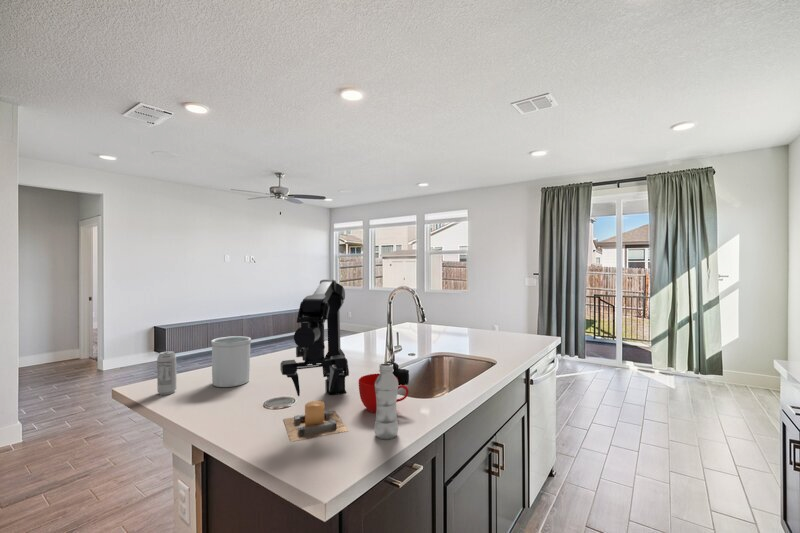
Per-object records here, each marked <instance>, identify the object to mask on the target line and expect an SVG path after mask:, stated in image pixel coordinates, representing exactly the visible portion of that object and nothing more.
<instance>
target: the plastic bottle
mask: <svg viewBox="0 0 800 533" xmlns="http://www.w3.org/2000/svg"><path fill="white" fill-rule="evenodd" d="M378 371H379V372H378V373H379V374H380V375H379V376H378V377H377V379H376V381H375V392H376V403H377V410H376V413H375V422H374V425H373V430H374V434H375V436H376V437H377V438H378V439H380V438H381V439H380V440H391V439H390V438H392V439H394V438H395V437H397V435H398V433H399V420H398V417H397V416H398V415H397V402H396V401H397V399H398V398H397V397H398V391H399V389H398V386H399V385H398V380H397V379H396V377H395V376H394V374H393V373H392V372H393V371H394V370H393V364H391V363H386V362H384V363H380V364H379V370H378ZM393 437H394V438H393Z"/></svg>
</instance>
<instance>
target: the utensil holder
mask: <svg viewBox="0 0 800 533" xmlns="http://www.w3.org/2000/svg"><path fill="white" fill-rule="evenodd" d="M251 342H252V338H251V337H249V336H243V335H242V336H239V335H238V336H237V335H234V336H225V337H224V336H223V337H217V338H214V339H212V340H211V341H210V343H211V377H212V379H211V380H212V382H211V383H212V385H213V386H214V387H216V388H217V387H218V388H231V387H232V388H233V387H239V386H241V385H244V384H246V383H248V382H249V381H250V370H251V369H250V368H251Z"/></svg>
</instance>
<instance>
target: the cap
mask: <svg viewBox="0 0 800 533" xmlns="http://www.w3.org/2000/svg"><path fill="white" fill-rule="evenodd" d="M324 411H325V402H324V401H322V400H321V401H320V400H312V401H308V402H306V403H305V405H304V414H305V427H307V426H313V425H318V424H324V423H325V419H324Z"/></svg>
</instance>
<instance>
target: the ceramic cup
mask: <svg viewBox="0 0 800 533" xmlns="http://www.w3.org/2000/svg"><path fill="white" fill-rule="evenodd" d="M379 375H380V373H371V374H366V375H363V376H361V377H360V378H359V379H358V391H359V397H360V400H361V402H362V405H363V406H364V407H365V408H366V409H367V410H368V412H371V413H374V414H376V410H377V403H376V392H375V381H376V379H377V377H378V376H379ZM395 377H396V376H395ZM396 379H397V380H398V378H397V377H396ZM399 389H404V390H405V395H404V396H402V397H401V398H397V401H396V403H398V402H402V401H404V400H405V399H406V398H407V397H408V395H409V393H410V392H409V387H407V385H398V390H399Z"/></svg>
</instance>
